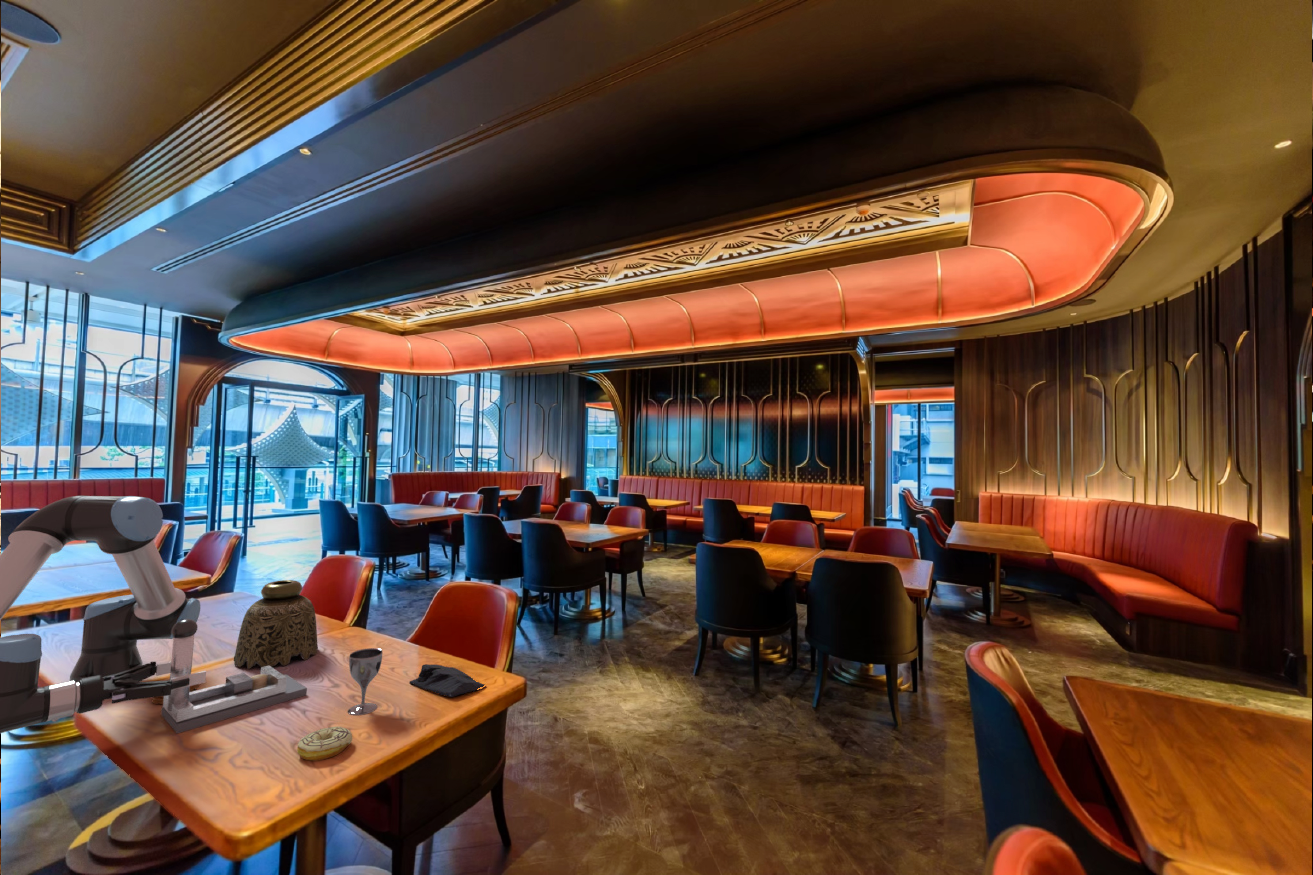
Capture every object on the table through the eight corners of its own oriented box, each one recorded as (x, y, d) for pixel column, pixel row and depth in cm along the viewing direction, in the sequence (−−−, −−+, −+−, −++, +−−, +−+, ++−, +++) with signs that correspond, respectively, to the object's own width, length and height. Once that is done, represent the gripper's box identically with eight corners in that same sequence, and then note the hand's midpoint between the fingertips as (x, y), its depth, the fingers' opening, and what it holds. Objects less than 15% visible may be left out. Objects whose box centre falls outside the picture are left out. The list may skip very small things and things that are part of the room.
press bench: (161, 714, 135) (161, 706, 135) (285, 680, 158) (286, 674, 158) (176, 733, 127) (177, 725, 127) (306, 695, 149) (306, 687, 149)
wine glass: (341, 717, 137) (345, 659, 138) (350, 703, 145) (354, 649, 146) (374, 714, 139) (378, 657, 140) (382, 701, 147) (385, 647, 148)
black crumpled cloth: (444, 705, 147) (445, 688, 147) (405, 683, 160) (406, 667, 161) (490, 688, 159) (491, 672, 159) (451, 669, 173) (452, 654, 173)
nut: (246, 691, 146) (247, 677, 146) (263, 687, 149) (264, 672, 149) (251, 695, 143) (252, 681, 144) (268, 691, 147) (269, 676, 147)
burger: (186, 704, 142) (187, 686, 142) (143, 708, 139) (145, 690, 139) (204, 689, 151) (206, 672, 151) (164, 692, 148) (166, 675, 148)
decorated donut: (361, 745, 125) (362, 729, 125) (317, 768, 115) (319, 750, 115) (331, 735, 129) (332, 719, 129) (286, 756, 119) (288, 739, 119)
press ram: (157, 708, 134) (165, 616, 135) (268, 679, 154) (274, 599, 155) (171, 723, 127) (179, 627, 128) (285, 691, 146) (291, 607, 147)
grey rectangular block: (224, 695, 143) (226, 677, 143) (242, 690, 146) (243, 672, 146) (233, 703, 139) (234, 683, 139) (251, 698, 142) (252, 679, 142)
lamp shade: (293, 640, 192) (298, 572, 194) (332, 652, 182) (337, 580, 184) (218, 661, 171) (224, 584, 173) (257, 675, 161) (263, 594, 163)
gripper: (66, 698, 125) (182, 671, 143) (84, 731, 111) (211, 698, 128) (69, 666, 126) (185, 643, 143) (87, 695, 111) (213, 666, 128)
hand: (197, 669), depth 136 cm, fingers open, 13 cm apart
